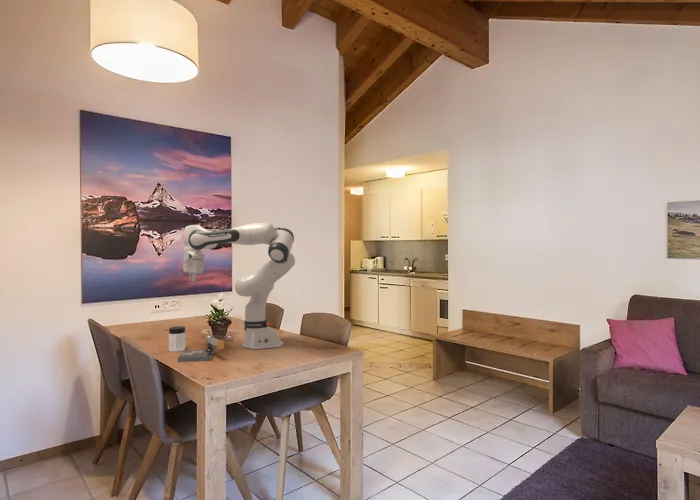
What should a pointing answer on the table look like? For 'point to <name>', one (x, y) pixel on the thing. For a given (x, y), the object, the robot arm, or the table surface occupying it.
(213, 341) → the bar
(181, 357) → the chassis plate
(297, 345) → the table surface
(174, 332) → the jar
